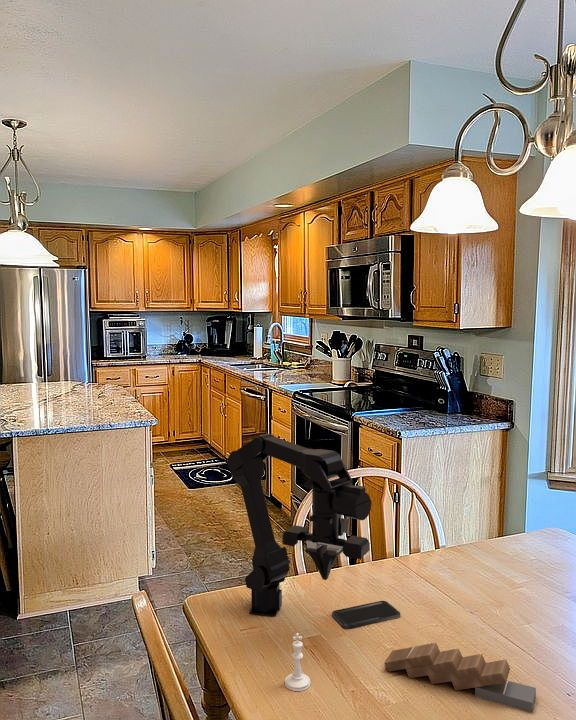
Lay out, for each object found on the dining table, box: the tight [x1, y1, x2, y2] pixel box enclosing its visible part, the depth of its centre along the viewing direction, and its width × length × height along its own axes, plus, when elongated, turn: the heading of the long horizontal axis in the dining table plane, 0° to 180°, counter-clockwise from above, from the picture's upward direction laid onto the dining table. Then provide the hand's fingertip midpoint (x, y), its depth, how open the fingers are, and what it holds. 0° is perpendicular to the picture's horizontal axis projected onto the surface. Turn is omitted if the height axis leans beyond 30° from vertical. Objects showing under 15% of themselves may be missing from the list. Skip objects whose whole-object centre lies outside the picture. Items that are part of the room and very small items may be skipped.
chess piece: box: [284, 632, 311, 692], centre depth 119 cm, size 5×5×10 cm
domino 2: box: [405, 647, 464, 679], centre depth 121 cm, size 2×5×10 cm
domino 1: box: [384, 642, 441, 672], centre depth 123 cm, size 2×5×10 cm
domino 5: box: [474, 680, 537, 713], centre depth 115 cm, size 2×5×10 cm
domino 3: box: [427, 653, 487, 685], centre depth 119 cm, size 2×5×10 cm
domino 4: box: [451, 659, 511, 691], centre depth 117 cm, size 2×5×10 cm
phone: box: [331, 600, 401, 630], centre depth 145 cm, size 8×1×15 cm
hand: (325, 579), depth 136 cm, fingers closed
